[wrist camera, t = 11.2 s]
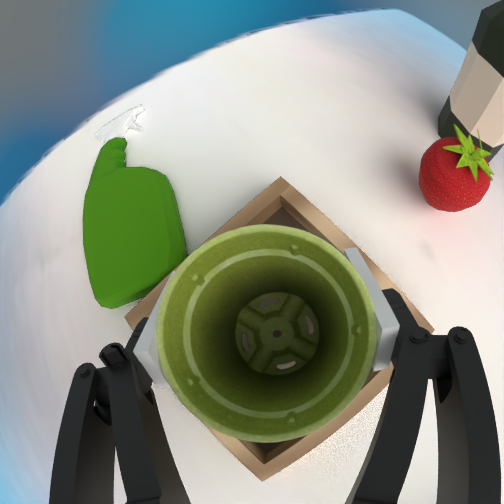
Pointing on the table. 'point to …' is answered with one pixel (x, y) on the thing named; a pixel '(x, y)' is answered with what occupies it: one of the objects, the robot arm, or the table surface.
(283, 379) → the plant pot
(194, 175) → the table surface
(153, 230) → the spray bottle
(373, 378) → the square wooden tray
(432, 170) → the strawberry
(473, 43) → the wine bottle
